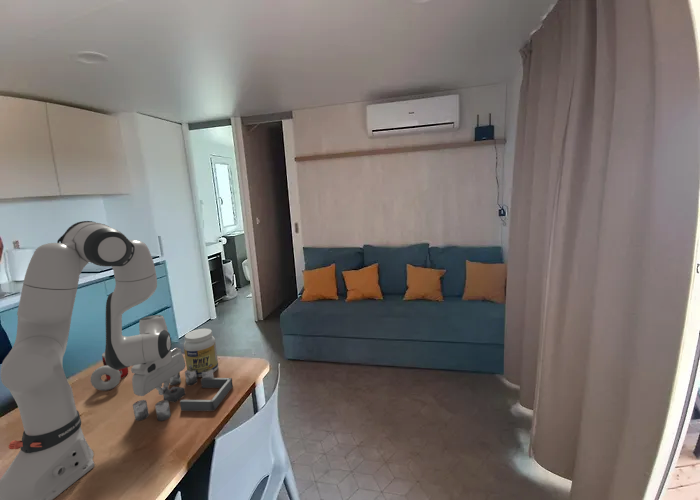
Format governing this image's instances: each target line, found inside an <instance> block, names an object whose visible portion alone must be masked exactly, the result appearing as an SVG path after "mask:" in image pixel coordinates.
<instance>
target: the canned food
mask: <svg viewBox="0 0 700 500" xmlns="http://www.w3.org/2000/svg"><path fill="white" fill-rule="evenodd" d="M101 358H102V363H103V366H107V364H106V362H105V351H104V352H103V353H102V354H101ZM119 372H120V374H121V379H123V378H125V377H126V376H127V375H128V374H129V367H127V368H123V369H120V370H119ZM105 378H106V380H107V381H109V380H110V379H111V377H110V376H109V375H107V374H105Z"/></svg>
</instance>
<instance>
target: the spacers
mask: <svg viewBox="0 0 700 500" xmlns="http://www.w3.org/2000/svg"><path fill="white" fill-rule="evenodd" d="M180 372H181V371H180ZM180 372H179V373H177V374H176V375H174V376H173V377H171V378H170V383H169V385H170V386H177V385H179V384H181V382H182V380H181V373H180ZM184 376H185V384H186V386H194V385H196V384H197V383H198V377H197V374H196V369H188V370H187V369H186V370H185V371H184ZM202 378H215V376H214V373H213V369H211V368H209V369H205V370H203V371H202V377H201V379H202ZM154 407H155V413H156V419H157V421H158V422H164V421H166V420H168V419H169V418H171V417H172V415H171V414H172V413H171V410H170V409H171V408H170V407H171V406H170V402H169V401H168V400H164V399H163V400H160V401H158V402H156V403H155V405H154ZM132 410H133V414H134V420H135V421H137V422H139V421H143V420H146V419H147V418H148V417H149V416H150V414H149V408H148V403H147V400H146V399H141V400H137V401H136V402H134V403H133V404H132Z"/></svg>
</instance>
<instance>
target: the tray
mask: <svg viewBox="0 0 700 500" xmlns="http://www.w3.org/2000/svg"><path fill="white" fill-rule="evenodd" d="M200 383H201V388H202V389H203V388H205V389H218V388H219V390H218V391H217V393H216V394H215V395H214V396H213V397H212V399H180V400H179V403H180V404H179V406H180V410H181V411H184V412H185V411H186V412H189V411H190V412H215V411H216V410H217V408H218V406H219V405H221V403H222V402H223V400H224V398H225V397H226V396H227V395H228V393H230V391H231V390H232V388H233V385H234V384H233V378H232V377H214V378H202V377H201V379H200Z"/></svg>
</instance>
